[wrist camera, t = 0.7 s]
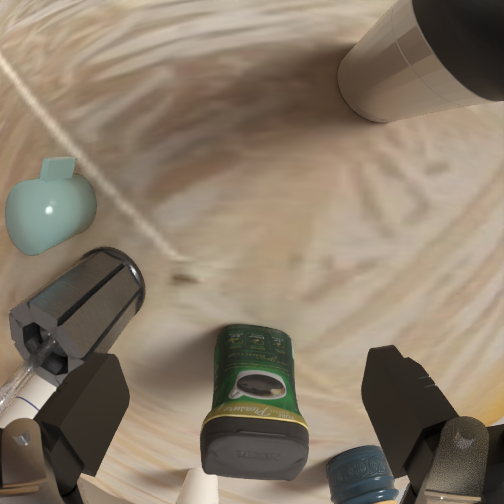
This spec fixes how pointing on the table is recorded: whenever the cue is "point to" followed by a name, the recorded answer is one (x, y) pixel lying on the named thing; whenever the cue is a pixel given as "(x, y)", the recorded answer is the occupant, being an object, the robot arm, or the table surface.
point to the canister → (361, 477)
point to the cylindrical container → (28, 400)
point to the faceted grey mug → (79, 311)
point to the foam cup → (199, 488)
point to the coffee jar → (254, 408)
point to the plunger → (29, 367)
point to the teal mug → (49, 207)
